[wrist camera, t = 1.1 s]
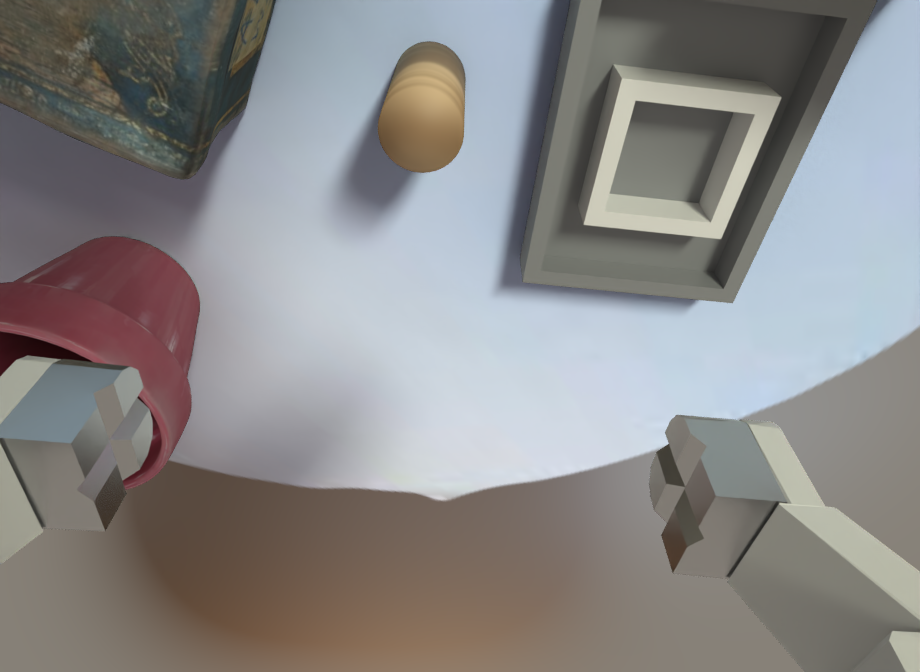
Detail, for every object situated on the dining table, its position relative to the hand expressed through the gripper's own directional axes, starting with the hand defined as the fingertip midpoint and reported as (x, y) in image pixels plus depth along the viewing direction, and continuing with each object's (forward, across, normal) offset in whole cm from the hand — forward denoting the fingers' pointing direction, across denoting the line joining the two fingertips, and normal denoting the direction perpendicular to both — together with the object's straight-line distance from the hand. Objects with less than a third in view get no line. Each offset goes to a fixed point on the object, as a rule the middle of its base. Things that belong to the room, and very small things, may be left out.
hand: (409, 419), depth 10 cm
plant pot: (+30, +21, +20) cm, 42 cm away
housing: (+30, -13, +5) cm, 33 cm away
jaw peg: (+30, +1, +3) cm, 30 cm away
